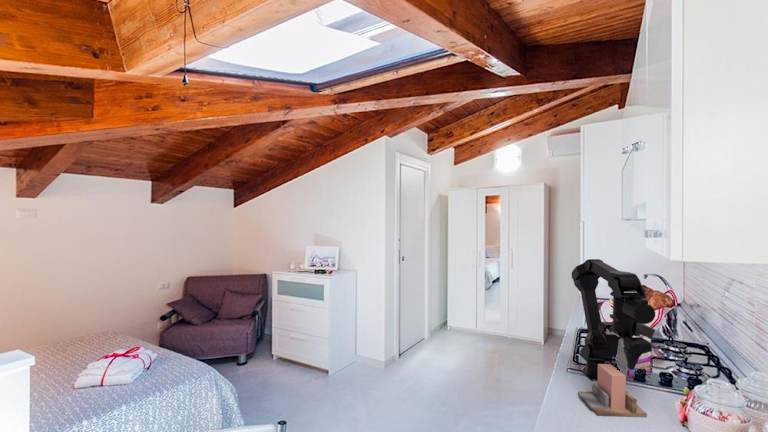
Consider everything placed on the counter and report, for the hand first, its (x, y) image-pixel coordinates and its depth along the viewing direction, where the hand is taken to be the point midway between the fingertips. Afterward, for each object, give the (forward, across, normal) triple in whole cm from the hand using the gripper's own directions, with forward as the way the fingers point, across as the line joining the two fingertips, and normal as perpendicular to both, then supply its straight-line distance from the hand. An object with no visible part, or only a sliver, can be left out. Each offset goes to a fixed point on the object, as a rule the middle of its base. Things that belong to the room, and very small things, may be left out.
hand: (622, 362), depth 116 cm
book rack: (+12, -3, +5) cm, 13 cm away
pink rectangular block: (+11, -3, +5) cm, 12 cm away
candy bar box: (+12, +19, -15) cm, 27 cm away
